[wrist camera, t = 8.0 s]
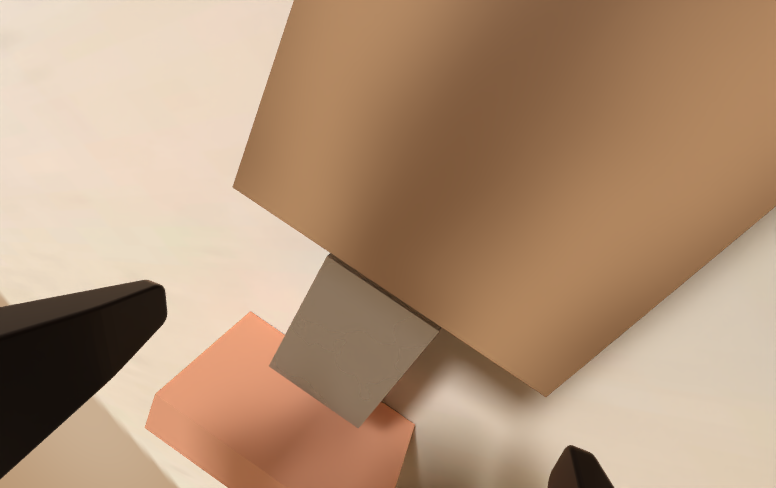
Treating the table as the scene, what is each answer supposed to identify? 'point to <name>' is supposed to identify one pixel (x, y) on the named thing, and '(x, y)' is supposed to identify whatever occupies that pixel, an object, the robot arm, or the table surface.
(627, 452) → the table surface
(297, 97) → the slab
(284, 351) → the support block
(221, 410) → the end stop
